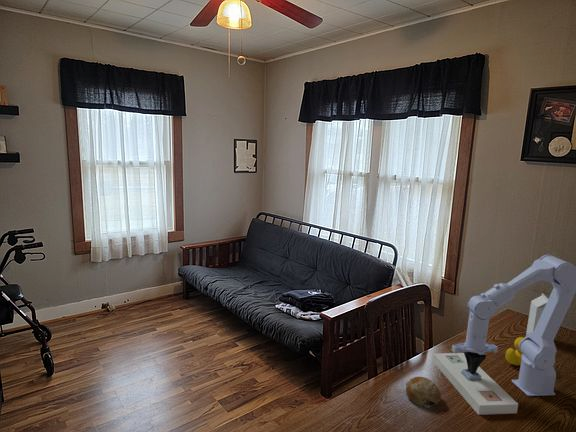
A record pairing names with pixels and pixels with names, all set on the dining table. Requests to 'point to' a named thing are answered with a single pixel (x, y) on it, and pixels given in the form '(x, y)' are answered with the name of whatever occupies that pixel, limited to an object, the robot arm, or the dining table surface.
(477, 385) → the button panel
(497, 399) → the button one
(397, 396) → the dining table surface
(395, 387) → the dining table surface
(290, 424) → the dining table surface
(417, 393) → the bread roll
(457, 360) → the button two
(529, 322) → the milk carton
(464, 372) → the button three
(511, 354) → the duckling
